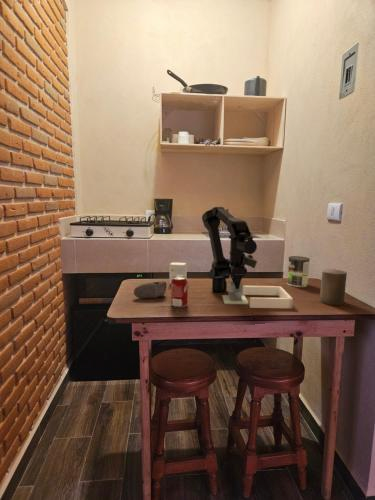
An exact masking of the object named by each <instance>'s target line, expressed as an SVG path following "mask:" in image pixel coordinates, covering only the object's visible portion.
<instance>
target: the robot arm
mask: <svg viewBox="0 0 375 500" xmlns="http://www.w3.org/2000/svg"><path fill="white" fill-rule="evenodd" d="M201 221H202V223H203V226H204V228H205V229H206V230H207V231H208V236H209V241H210V245H211V251H212V256H213V260H212V263H211V268H210V270H209V272H208V278H209V279H210V280H211V292H212V293H227V290H228V289H227V288H228V286H227V285H228V282H227V280H226V279H229V278H231V282H234V285H235V288H236V289H239V286H240V282H241V283H242V278H244V277H245V276H246V275H247V274H248V269H247V268H246V266H248V267H251V268H252V269H256V266H257V263H258V261H257V259H255V258H254V257H253V254H254V253H255V252H256V251H257V248H258V246H257V243H256V241H255V240H254V238H253V236H252V233H251V231H250V228H249V225H248V223H247V221H245V220H243V218H242V219H241V218H238V217H235V216H234V215H232V214H231V213H230V212H229V211H227V210H226V208H225V207H223V206H214V207H212V208H211V209H209V210H207V211H205V212H204V213H203V214H202V216H201ZM221 222H222V223H223V224H224V225H226V230H227V231H228V233H229V234H230V235H228V239H229V240H230V244H229V245H230V249H229V258H226V257H225V256H224V250H223V247H222V246H223V245H222V240H221V236H220V229H219V227H220V224H221ZM246 254H248V255H246Z"/></svg>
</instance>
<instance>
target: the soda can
mask: <svg viewBox="0 0 375 500" xmlns="http://www.w3.org/2000/svg"><path fill="white" fill-rule="evenodd" d="M188 283H189V282H188V280H186V277H185V276H174V277H173V280H172V281H171V284H170V295H171V296H170V304H171V306H172V307H174V308H176V307H177V309H178V308H179V309H180V308H181V309H183V308H184V307H186V306H188V298H189V297H188V291H189V289H188V288H189V287H188V286H189V285H188Z"/></svg>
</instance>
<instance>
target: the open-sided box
mask: <svg viewBox="0 0 375 500" xmlns="http://www.w3.org/2000/svg"><path fill="white" fill-rule="evenodd" d="M242 296H251V297H249V308H251V309H293V306H294V299H293V297H292V296H291V295H290V294H289V293H288V292H287V291H286V290H285V289H284V288H283V287H282V286H280V285H277V286H275V285H242ZM252 296H253V297H252ZM254 296H277V297H254Z"/></svg>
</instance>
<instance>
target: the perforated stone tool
mask: <svg viewBox="0 0 375 500" xmlns="http://www.w3.org/2000/svg"><path fill="white" fill-rule="evenodd" d="M167 284H168V283H167V282H166V281H152V282H146V283H144V284H140V285H138V286H136V287H135V288H134V290H133V295H134V297H136V298H139V299H156V298H159V297H160V298H162V297H164V296H165V294H166V292H167Z"/></svg>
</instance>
